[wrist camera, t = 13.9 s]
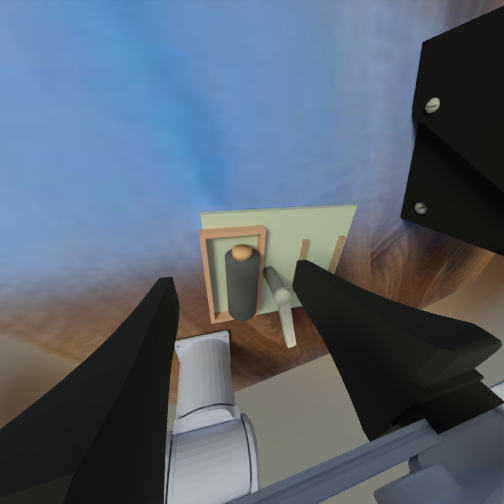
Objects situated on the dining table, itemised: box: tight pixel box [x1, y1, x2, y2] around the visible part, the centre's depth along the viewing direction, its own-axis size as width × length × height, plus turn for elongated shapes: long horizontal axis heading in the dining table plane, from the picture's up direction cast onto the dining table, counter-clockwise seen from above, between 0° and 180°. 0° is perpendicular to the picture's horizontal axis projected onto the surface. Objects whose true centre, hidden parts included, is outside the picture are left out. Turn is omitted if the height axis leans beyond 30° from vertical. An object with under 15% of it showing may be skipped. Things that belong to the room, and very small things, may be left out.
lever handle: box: [273, 287, 296, 348], centre depth 22 cm, size 2×11×1 cm, turn 13°
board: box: [199, 204, 357, 324], centre depth 22 cm, size 16×18×5 cm
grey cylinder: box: [225, 244, 260, 321], centre depth 20 cm, size 10×4×4 cm, turn 179°
